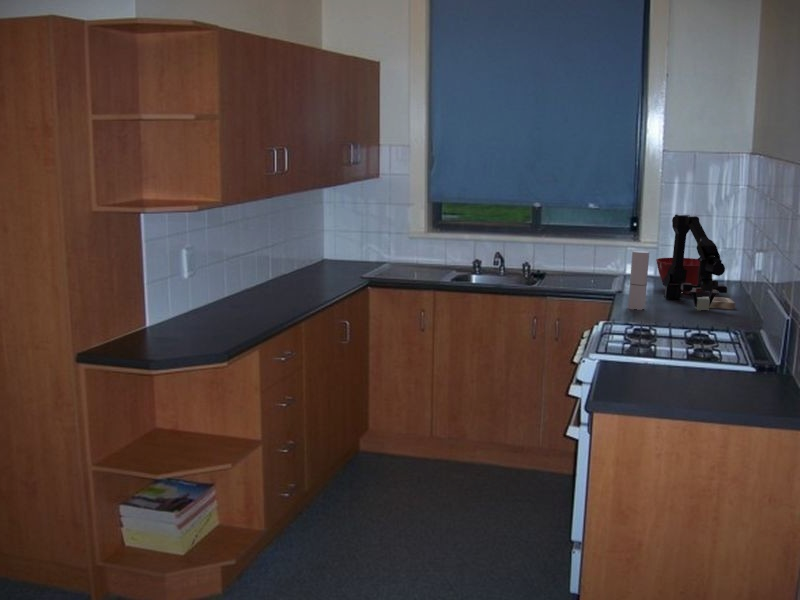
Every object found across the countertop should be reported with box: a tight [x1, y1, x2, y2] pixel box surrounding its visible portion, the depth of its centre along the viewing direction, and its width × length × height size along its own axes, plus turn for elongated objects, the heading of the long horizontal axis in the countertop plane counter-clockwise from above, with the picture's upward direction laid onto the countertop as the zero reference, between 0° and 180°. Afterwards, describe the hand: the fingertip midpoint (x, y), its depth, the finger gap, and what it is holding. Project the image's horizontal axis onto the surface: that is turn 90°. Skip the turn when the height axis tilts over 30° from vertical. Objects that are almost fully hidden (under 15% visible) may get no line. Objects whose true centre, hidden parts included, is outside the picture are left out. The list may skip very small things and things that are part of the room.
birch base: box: [702, 296, 736, 310], centre depth 404 cm, size 12×12×3 cm
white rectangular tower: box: [627, 250, 650, 311], centre depth 390 cm, size 7×7×25 cm
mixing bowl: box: [655, 257, 703, 293], centre depth 439 cm, size 28×28×15 cm
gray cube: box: [694, 296, 710, 312], centre depth 394 cm, size 5×5×5 cm
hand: (702, 307), depth 394 cm, fingers closed on gray cube, 5 cm apart
